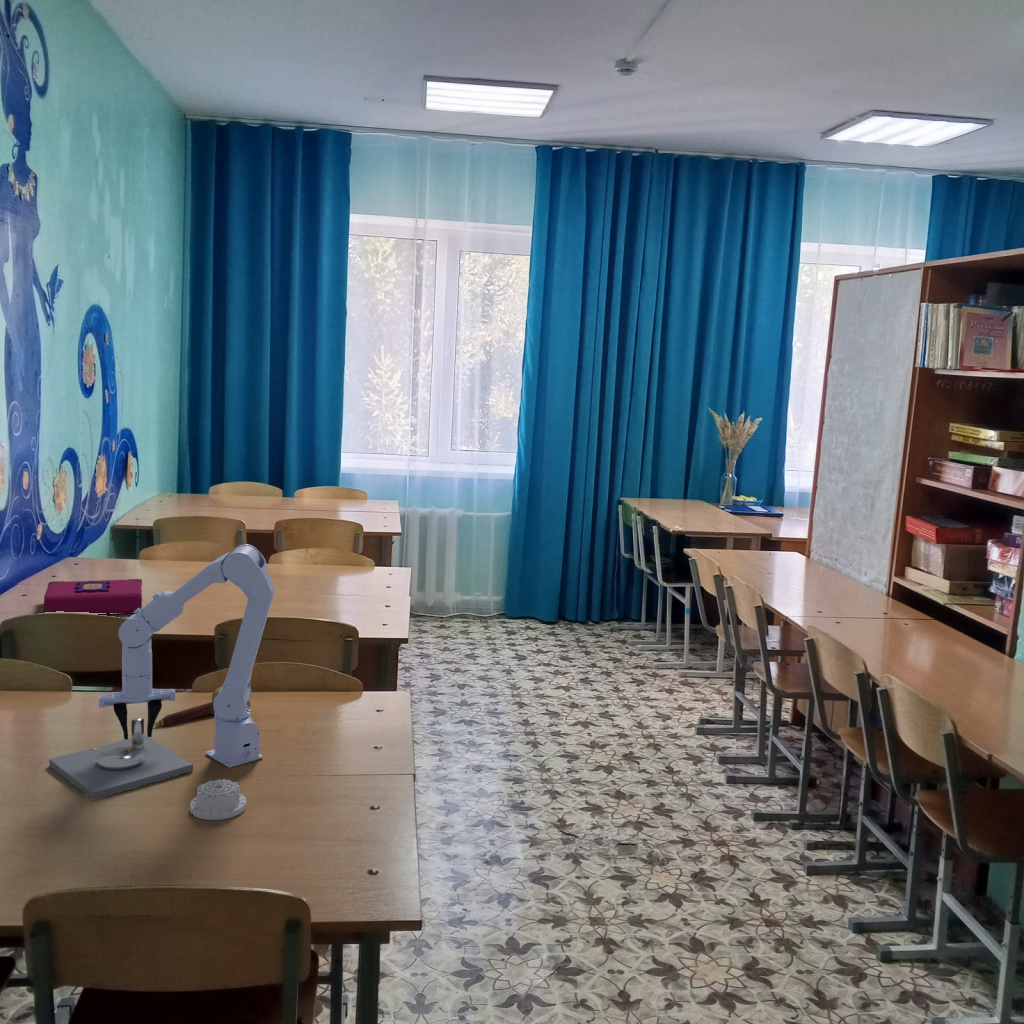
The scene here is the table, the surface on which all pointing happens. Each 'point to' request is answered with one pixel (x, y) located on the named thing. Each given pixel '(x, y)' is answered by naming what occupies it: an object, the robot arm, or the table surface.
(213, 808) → the mechanical component
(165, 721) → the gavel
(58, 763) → the dial plate
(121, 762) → the dial
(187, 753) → the table surface
